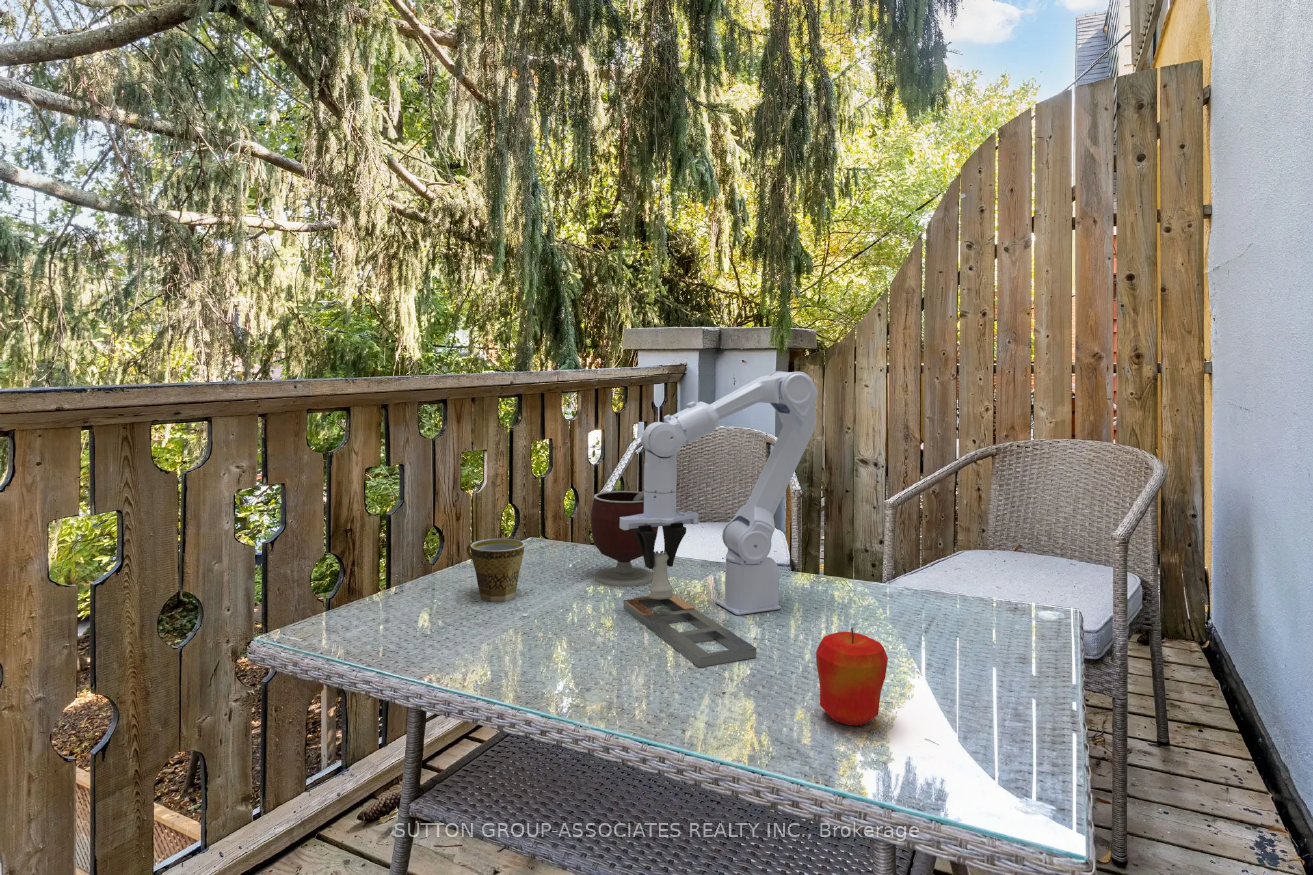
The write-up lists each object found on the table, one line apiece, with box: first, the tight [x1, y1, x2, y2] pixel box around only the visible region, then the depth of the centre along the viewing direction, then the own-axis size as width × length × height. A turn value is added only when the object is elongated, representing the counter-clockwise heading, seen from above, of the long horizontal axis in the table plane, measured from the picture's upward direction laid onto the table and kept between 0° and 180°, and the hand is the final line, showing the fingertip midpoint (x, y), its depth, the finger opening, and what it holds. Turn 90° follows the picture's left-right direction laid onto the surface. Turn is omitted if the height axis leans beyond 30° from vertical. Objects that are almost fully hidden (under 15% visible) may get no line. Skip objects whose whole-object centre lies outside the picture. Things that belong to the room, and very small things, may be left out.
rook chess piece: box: [648, 550, 675, 600], centre depth 133 cm, size 4×4×8 cm
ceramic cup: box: [466, 538, 526, 603], centre depth 142 cm, size 13×10×10 cm
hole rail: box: [622, 594, 757, 668], centre depth 125 cm, size 10×29×2 cm, turn 25°
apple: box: [815, 627, 889, 726], centre depth 94 cm, size 9×8×12 cm
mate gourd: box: [590, 490, 659, 587], centre depth 154 cm, size 16×14×20 cm
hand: (658, 566), depth 134 cm, fingers closed on rook chess piece, 3 cm apart
